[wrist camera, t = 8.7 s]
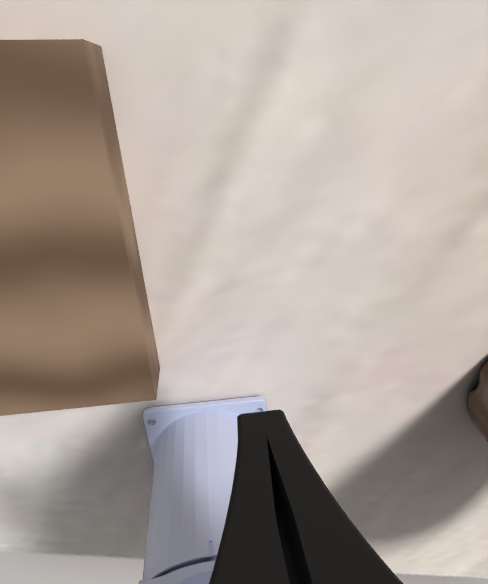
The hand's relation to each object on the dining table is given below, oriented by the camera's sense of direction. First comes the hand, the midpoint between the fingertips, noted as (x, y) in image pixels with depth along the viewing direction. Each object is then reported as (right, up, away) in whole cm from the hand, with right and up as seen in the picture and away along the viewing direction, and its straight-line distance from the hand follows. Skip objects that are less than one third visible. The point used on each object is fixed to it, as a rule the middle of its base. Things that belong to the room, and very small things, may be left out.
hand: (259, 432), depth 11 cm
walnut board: (-11, +6, +6) cm, 14 cm away
